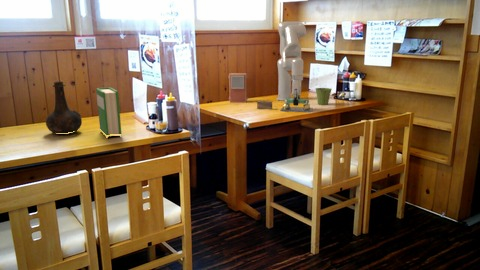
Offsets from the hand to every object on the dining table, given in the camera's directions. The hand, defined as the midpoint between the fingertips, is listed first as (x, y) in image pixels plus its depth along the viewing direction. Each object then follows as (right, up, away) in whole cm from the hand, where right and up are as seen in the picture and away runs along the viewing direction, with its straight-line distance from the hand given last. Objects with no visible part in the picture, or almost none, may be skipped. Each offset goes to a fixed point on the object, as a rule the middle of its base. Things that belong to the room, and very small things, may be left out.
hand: (296, 104), depth 283 cm
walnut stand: (-21, -3, +7) cm, 22 cm away
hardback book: (-107, -21, -59) cm, 124 cm away
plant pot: (+22, +1, +21) cm, 30 cm away
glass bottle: (-133, -20, -54) cm, 145 cm away
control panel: (-39, +4, +36) cm, 53 cm away
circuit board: (0, +1, 0) cm, 1 cm away
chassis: (0, -4, +1) cm, 4 cm away
